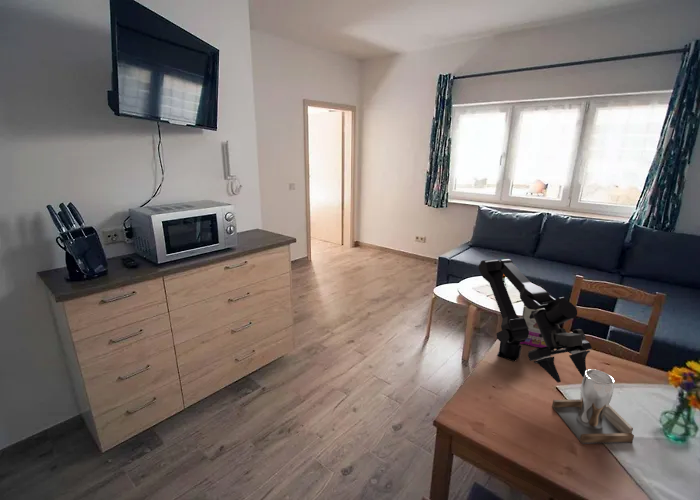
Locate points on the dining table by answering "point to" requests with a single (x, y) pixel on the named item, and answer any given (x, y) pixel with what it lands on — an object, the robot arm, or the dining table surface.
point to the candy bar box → (532, 330)
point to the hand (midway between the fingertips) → (572, 379)
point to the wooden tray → (610, 432)
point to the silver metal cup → (594, 398)
